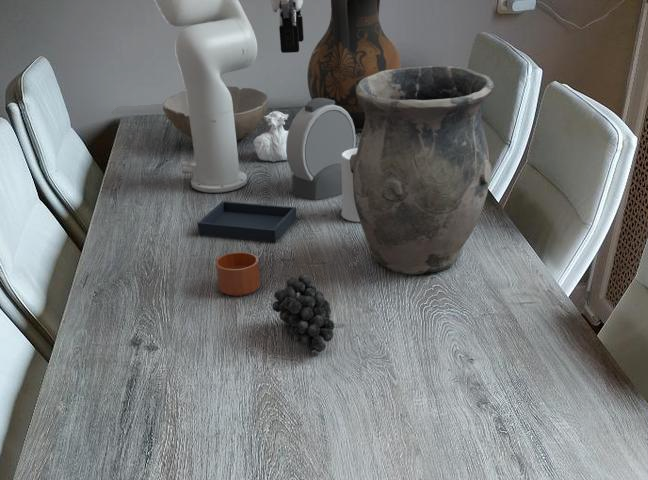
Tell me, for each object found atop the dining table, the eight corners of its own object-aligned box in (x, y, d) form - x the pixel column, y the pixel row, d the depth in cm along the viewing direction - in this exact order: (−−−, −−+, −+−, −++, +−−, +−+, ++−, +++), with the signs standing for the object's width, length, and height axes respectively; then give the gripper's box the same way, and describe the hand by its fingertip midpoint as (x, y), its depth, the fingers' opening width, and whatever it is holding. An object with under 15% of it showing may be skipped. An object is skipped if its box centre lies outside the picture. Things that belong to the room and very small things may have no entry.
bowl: (291, 133, 208) (288, 92, 201) (228, 163, 191) (223, 118, 184) (213, 120, 219) (208, 81, 212) (147, 147, 202) (140, 105, 195)
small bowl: (212, 295, 136) (208, 267, 133) (229, 277, 142) (225, 250, 139) (251, 299, 135) (248, 272, 131) (267, 281, 140) (264, 254, 137)
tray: (198, 234, 157) (197, 223, 155) (223, 212, 166) (222, 200, 164) (275, 242, 153) (274, 230, 151) (296, 219, 162) (295, 207, 160)
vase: (403, 136, 203) (407, -26, 180) (307, 138, 203) (300, -22, 181) (398, 109, 221) (401, -40, 199) (310, 112, 222) (304, -36, 200)
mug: (396, 204, 166) (397, 145, 158) (401, 220, 160) (403, 158, 152) (339, 207, 166) (338, 148, 158) (343, 223, 159) (341, 162, 152)
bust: (304, 164, 194) (298, 118, 194) (306, 152, 187) (300, 104, 186) (255, 169, 193) (249, 122, 193) (256, 157, 186) (249, 108, 185)
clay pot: (329, 256, 147) (323, 79, 128) (422, 224, 157) (430, 56, 138) (408, 298, 133) (415, 107, 114) (505, 261, 143) (526, 79, 124)
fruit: (333, 304, 113) (308, 259, 124) (280, 329, 113) (260, 282, 124) (352, 351, 118) (327, 304, 129) (301, 375, 119) (281, 326, 130)
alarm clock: (333, 174, 182) (330, 87, 170) (365, 184, 176) (364, 95, 165) (280, 193, 174) (273, 103, 162) (312, 204, 168) (308, 112, 156)
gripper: (268, -72, 140) (277, 38, 150) (256, -63, 126) (266, 57, 137) (311, -74, 139) (316, 36, 150) (303, -65, 126) (310, 55, 136)
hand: (292, 46), depth 143 cm, fingers open, 9 cm apart
